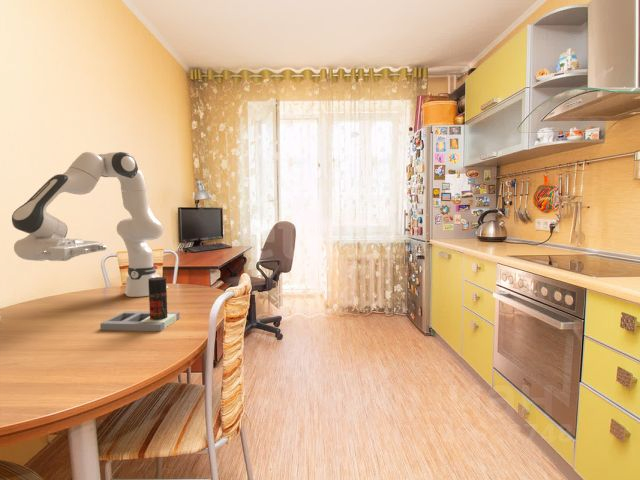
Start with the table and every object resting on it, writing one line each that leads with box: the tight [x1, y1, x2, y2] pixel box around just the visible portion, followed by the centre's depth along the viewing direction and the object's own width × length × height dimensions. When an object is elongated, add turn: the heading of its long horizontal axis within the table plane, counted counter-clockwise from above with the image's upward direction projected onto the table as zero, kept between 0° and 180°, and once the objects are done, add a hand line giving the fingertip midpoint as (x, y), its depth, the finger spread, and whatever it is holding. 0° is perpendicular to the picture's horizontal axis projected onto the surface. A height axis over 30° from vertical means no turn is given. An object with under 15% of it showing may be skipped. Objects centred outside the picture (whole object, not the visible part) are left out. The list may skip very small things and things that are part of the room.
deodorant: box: [148, 276, 168, 320], centre depth 119 cm, size 6×6×15 cm
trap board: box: [99, 310, 180, 332], centre depth 120 cm, size 14×22×2 cm, turn 88°
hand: (96, 249), depth 121 cm, fingers open, 8 cm apart
